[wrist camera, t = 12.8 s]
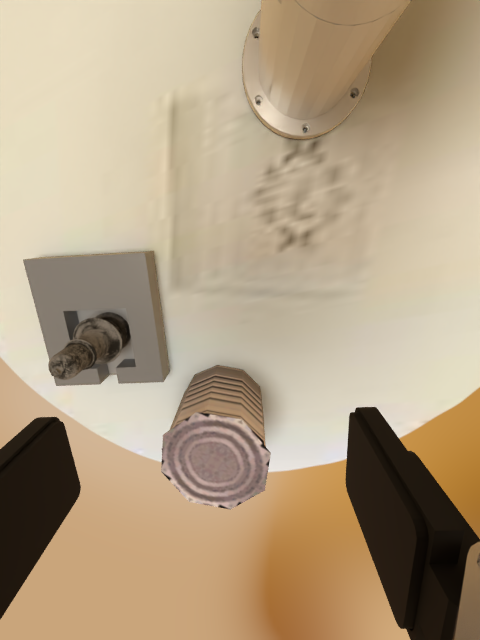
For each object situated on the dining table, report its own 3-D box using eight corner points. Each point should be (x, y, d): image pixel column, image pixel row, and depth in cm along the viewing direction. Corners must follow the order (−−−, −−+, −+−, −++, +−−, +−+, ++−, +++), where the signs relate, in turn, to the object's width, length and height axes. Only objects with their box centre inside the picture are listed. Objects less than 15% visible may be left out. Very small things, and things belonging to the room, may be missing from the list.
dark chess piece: (80, 317, 38) (7, 355, 26) (122, 304, 37) (66, 337, 26) (100, 357, 40) (39, 409, 28) (140, 345, 39) (94, 394, 27)
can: (222, 448, 44) (213, 526, 32) (166, 398, 42) (134, 463, 30) (280, 403, 41) (293, 470, 30) (224, 347, 39) (214, 396, 28)
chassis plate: (40, 257, 36) (23, 259, 33) (153, 251, 36) (144, 252, 33) (69, 374, 41) (56, 385, 38) (169, 371, 40) (163, 381, 37)
